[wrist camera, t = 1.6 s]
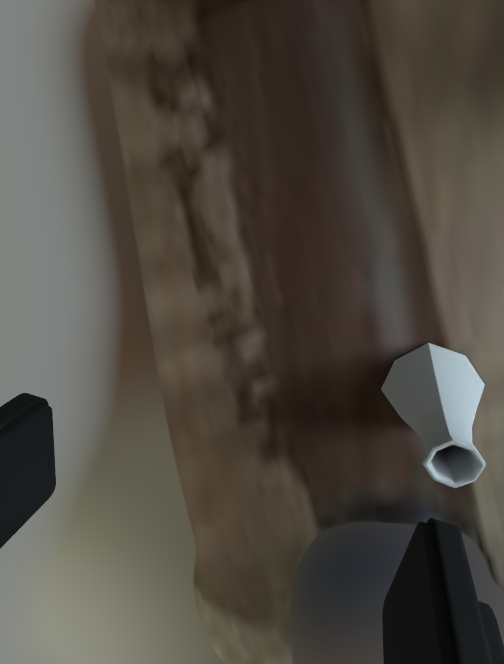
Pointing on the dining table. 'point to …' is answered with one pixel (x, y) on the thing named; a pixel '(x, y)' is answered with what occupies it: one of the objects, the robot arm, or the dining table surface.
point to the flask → (439, 409)
